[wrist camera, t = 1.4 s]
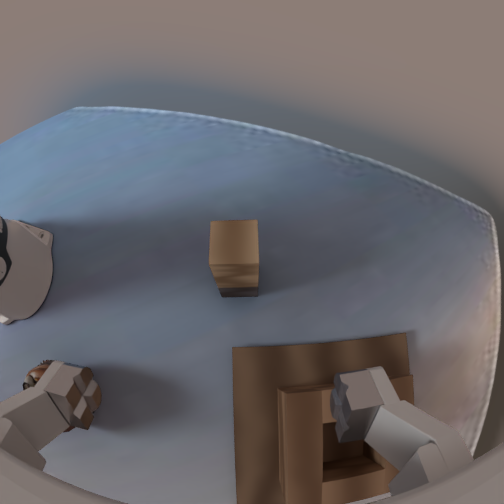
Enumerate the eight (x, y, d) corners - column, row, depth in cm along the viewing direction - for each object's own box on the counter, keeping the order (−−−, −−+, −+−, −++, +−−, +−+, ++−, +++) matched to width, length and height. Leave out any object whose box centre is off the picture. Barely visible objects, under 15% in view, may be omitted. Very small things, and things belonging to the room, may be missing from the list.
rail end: (222, 297, 35) (208, 264, 25) (222, 264, 37) (210, 221, 27) (257, 296, 35) (259, 263, 25) (256, 263, 37) (257, 219, 27)
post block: (238, 507, 23) (232, 549, 14) (233, 348, 33) (224, 337, 23) (402, 481, 23) (442, 503, 14) (400, 334, 33) (445, 317, 23)
